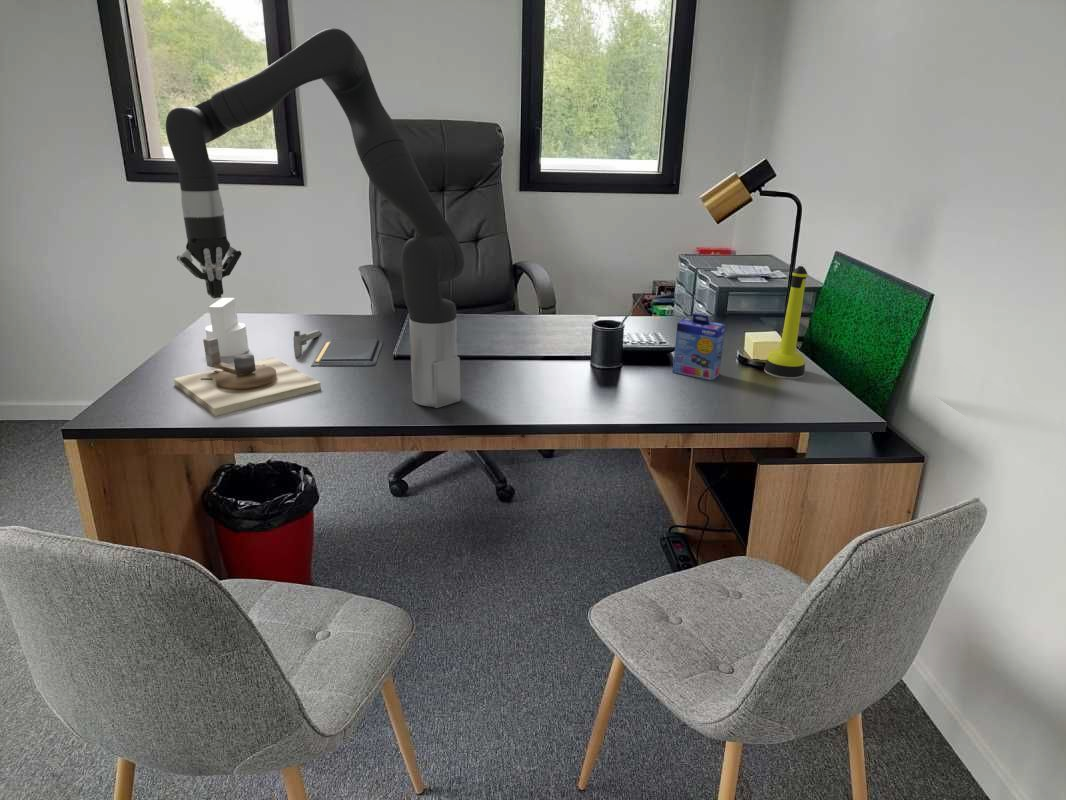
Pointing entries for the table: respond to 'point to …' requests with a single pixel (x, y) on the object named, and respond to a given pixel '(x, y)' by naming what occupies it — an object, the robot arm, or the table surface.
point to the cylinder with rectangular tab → (227, 328)
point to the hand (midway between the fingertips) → (215, 297)
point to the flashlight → (790, 334)
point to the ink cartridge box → (698, 347)
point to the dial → (237, 369)
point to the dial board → (236, 399)
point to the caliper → (303, 340)
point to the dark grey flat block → (349, 353)
